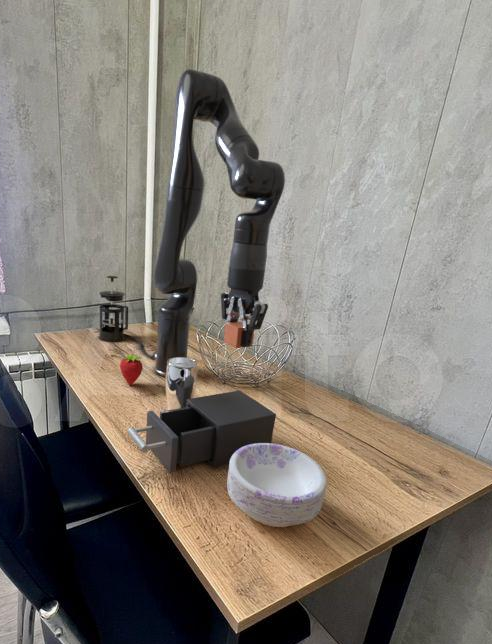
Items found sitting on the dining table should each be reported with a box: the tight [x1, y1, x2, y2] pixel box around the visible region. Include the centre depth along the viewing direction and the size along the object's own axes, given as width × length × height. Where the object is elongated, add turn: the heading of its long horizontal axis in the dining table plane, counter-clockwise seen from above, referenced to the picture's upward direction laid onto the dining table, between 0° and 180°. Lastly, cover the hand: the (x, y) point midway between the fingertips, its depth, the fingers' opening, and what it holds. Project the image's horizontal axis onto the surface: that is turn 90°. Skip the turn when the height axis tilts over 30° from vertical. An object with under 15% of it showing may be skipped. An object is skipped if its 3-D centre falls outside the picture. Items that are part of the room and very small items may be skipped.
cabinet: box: [186, 389, 277, 469], centre depth 82 cm, size 14×12×9 cm
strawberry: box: [119, 351, 144, 386], centre depth 109 cm, size 6×8×10 cm
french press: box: [98, 275, 129, 343], centre depth 146 cm, size 12×9×23 cm
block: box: [223, 321, 255, 349], centre depth 89 cm, size 5×5×5 cm
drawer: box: [126, 406, 216, 474], centre depth 77 cm, size 17×11×7 cm, turn 117°
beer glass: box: [164, 357, 198, 411], centre depth 89 cm, size 7×7×15 cm
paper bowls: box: [226, 442, 328, 528], centre depth 65 cm, size 15×15×8 cm
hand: (237, 342), depth 90 cm, fingers closed on block, 4 cm apart
